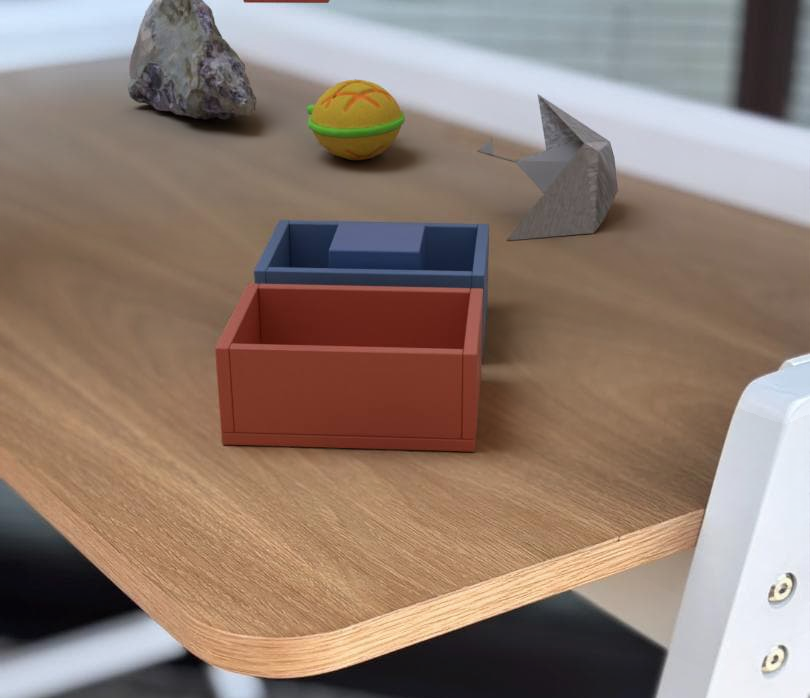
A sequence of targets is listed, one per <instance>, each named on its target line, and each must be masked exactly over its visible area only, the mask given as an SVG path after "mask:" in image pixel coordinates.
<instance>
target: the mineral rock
mask: <svg viewBox="0 0 810 698" xmlns="http://www.w3.org/2000/svg"><path fill="white" fill-rule="evenodd" d="M213 14H214V13H213V10H212V8H211V7H210V6H209V5H208V4H207V3H206V2H205V1H204V0H151V2H150V4H149V5H148V6H147V8H146V10H145V12H144V16H143V18H142V19H141V23H140V26H139V29H138V32H137V35H136V39H135V44H134V46H133V49H132V52H131V56H130V60H129V81H128V83H127V92H128V95H129V97H130V99H132V100H133V101H134V102H136V103H138V104H145V105H148V106H151V107H153V108H154V109H155V110H157V111H164V112H171V113H173V114H175V115H177V116H185V117H190V118H193V119H194V120H196V119H201V118H203V119H202V120H204V119H205V120H209V119H216V118H215V117H217V118H218V119H220V120H227V119H230V118H232V117H235V118H238V117H240V116H246V117H250V116H252V115H253V114H254V112H255V111H256V107H257V97H256V95H255V93H254V92H253V88H252V87H251V83H250V80H249V77H248V74H247V72H246V64H245V63H244V62H243V61H242V59H241V58H240V56H239V55H238V53H237V52H236V51H235V50H234V49H233V47H231V46H230V44H229V43H228V42H227V40H226V39H224V38H223V36H222V34H221V32H220V30H219V28H218V26H217V25H216V21H215V17H214V15H213ZM208 118H209V119H208Z"/></svg>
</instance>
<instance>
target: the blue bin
mask: <svg viewBox="0 0 810 698" xmlns="http://www.w3.org/2000/svg"><path fill="white" fill-rule="evenodd" d="M339 223H382V224H424V225H425V270H383V269H335V268H329V248H330V246H331V243H332V241H333V238H334V235H335V233H336V230H337V227H338V225H339ZM489 254H490V224H489V223H463V222H461V223H460V222H459V223H458V222H407V221H405V222H403V221H402V222H401V221H359V220H358V221H353V220H352V221H351V220H349V221H347V220H305V219H304V220H303V219H302V220H299V219H298V220H297V219H296V220H295V219H292V220H289V219H279V220H278V222H277V224H276V225H275V228H274V230H273V232H272V234H271V236H270V237H269V240H268V242H267V243H266V246H265V248H264V250H263V252H262V253H261V256H260V257H259V260H258V262H257V264H256V266H255V268H254V270H253V280H254V284H259V285H260V284H297V285H343V286H389V287H436V288H470V290H471V289H472V288H480V289H483V325H482V364H483V363H484V351H485V340H486V327H487V318H488V317H487V315H488V305H489V304H488V303H489V302H488V301H489V300H488V299H489V297H488V296H489V261H490V259H489V257H490V255H489Z"/></svg>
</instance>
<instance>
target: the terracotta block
mask: <svg viewBox="0 0 810 698" xmlns="http://www.w3.org/2000/svg"><path fill="white" fill-rule="evenodd" d="M330 1H331V0H243V3H247V4H249V3H251V4H253V3H255V4H263V3H264V4H270V3H271V4H329V2H330Z"/></svg>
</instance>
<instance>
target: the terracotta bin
mask: <svg viewBox="0 0 810 698" xmlns="http://www.w3.org/2000/svg"><path fill="white" fill-rule="evenodd" d="M482 325H483V289H480V288H472V289H471V290H470V288H436V287H389V286H343V285H297V284H260V285H259V284H255V283H247V284H246V285H245V287H244V290H243V292H242V294H241V296H240V297H239V300H238V302H237V304H236V306H235V308H234V310H233V312H232V315H231V316H230V318H229V320H228V322H227V324H226V326H225V328H224V330H223V332H222V334H221V336H220V338H219V339H218V342H217V344H216V346H215V348H214V349H215V350H214V351H215V364H216V379H217V393H218V407H219V419H220V421H219V422H220V431H221V434H220V435H221V436H220V437H221V443H222V445H228V446H229V445H231V446H261V447H262V446H264V447H265V446H266V447H297V448H300V447H301V448H330V449H331V448H334V449H365V450H366V449H369V450H397V451H398V450H402V451H434V452H465V453H466V452H467V453H469V452H470V453H474V452H476V447H477V435H478V424H479V423H478V422H479V421H478V420H479V412H480V411H479V410H480V400H481V399H480V398H481V386H482V371H483V370H482V369H483V368H482V366H483V365H482V364H483V363H482Z"/></svg>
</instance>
